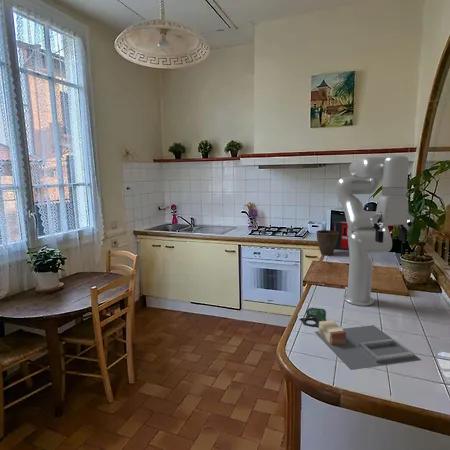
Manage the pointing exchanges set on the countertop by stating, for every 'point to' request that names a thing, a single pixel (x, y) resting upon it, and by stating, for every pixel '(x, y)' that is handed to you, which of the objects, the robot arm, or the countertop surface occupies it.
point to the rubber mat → (359, 358)
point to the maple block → (332, 332)
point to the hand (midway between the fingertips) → (390, 241)
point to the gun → (314, 316)
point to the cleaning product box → (342, 235)
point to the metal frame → (391, 357)
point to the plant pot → (327, 241)
